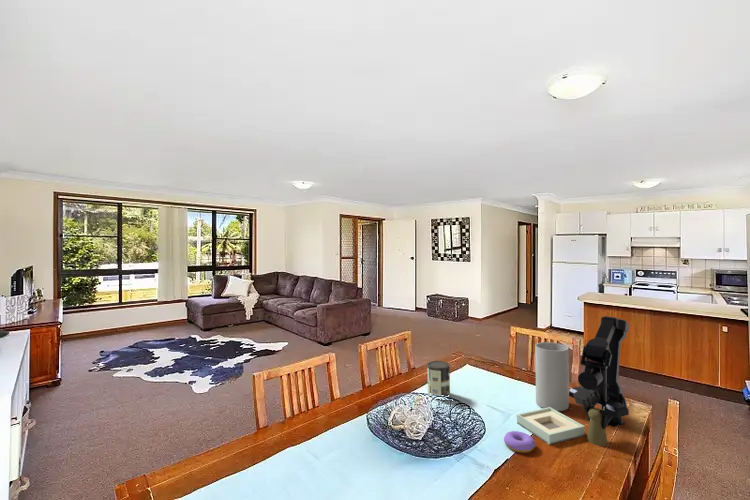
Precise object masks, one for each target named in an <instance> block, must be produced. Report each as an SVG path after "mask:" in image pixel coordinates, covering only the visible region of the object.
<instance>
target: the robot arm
mask: <svg viewBox="0 0 750 500" xmlns="http://www.w3.org/2000/svg"><path fill="white" fill-rule="evenodd" d="M629 328H630V323H629V322H628V321H627V320H625V319H621V318H618V317H615V316H606V315H604V316H602V317H601V318H600V325H599V327H598V329H597V331H596V333H595V336H594V338H592V339H589V340H588V341H587V342H586V344H585V345H584V346H583V349H582V354H581V358H580V365H581V366H584V370H583V371H582V372H580V373H579V375H578V377H577V380H578V384H579V385H580V386H579V385H578V386H575V387H571V388H569V397H570V398H573V399H574V400H575V403H576V404H577V405H580V406H582V407H583V410H584V413H585V415H586V417H587V420H588V422H589V423H590V417H589V415H588V412H589V410H590V409H591V408H596V405H599V406H601V408H600V409H601V410H600V411H599V412H600V414H601V419H602V429H605V430H606V429H607V426H608V425H609V426H611V427H616V426H621V425H624V424H626V422H625V421H624V420H622V417H627V416H629V415H630V413H629V408H628V406H627V400H626V396H625V395H624V394H623V391H624V389H623V388H622V386H621V383H620V382H619V373H620V361H621V348H622V347H621V345H622V342H623V341H624V340H625V339H626V338H627V335H628V334H627V333H629Z"/></svg>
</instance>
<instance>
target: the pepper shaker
mask: <svg viewBox="0 0 750 500" xmlns="http://www.w3.org/2000/svg"><path fill="white" fill-rule="evenodd" d="M601 409H602V408H596V407H595V408H591V409H590V410H589V412H588V415H589V417H590V422H589V424H588V430H587V437H586V440H587V442H589V443H590V444H592V445H594V446H599V447H602V446H603V447H605V446H607V445H608V438H607V432H606V428H605V429H602V419H601V414H600V412H599V411H600V410H601Z"/></svg>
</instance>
